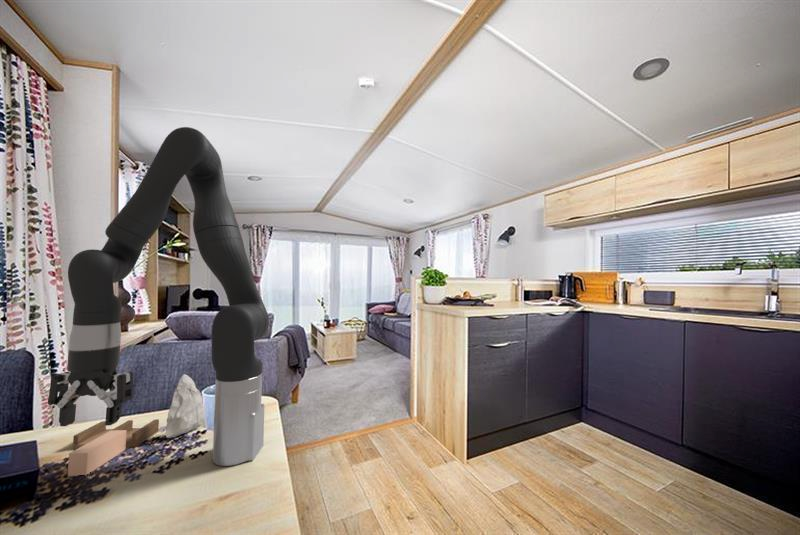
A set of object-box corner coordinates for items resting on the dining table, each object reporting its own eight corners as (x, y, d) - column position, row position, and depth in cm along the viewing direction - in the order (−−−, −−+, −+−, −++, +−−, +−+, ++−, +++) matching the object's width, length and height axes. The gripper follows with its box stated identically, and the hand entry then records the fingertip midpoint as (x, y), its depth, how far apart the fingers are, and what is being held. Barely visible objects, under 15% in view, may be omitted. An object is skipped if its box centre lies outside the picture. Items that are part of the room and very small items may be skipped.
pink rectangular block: (125, 450, 66) (126, 430, 67) (86, 476, 57) (87, 452, 58) (109, 450, 66) (110, 430, 66) (67, 477, 57) (69, 453, 57)
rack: (158, 431, 75) (158, 419, 75) (136, 446, 68) (136, 433, 68) (101, 433, 73) (102, 421, 74) (72, 449, 66) (73, 435, 67)
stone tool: (168, 443, 69) (171, 379, 70) (162, 440, 70) (165, 377, 71) (206, 428, 76) (209, 370, 77) (200, 425, 78) (202, 368, 79)
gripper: (145, 341, 65) (140, 415, 64) (77, 341, 64) (71, 416, 63) (115, 349, 58) (109, 433, 57) (38, 349, 57) (30, 434, 56)
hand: (89, 424), depth 60 cm, fingers open, 8 cm apart
